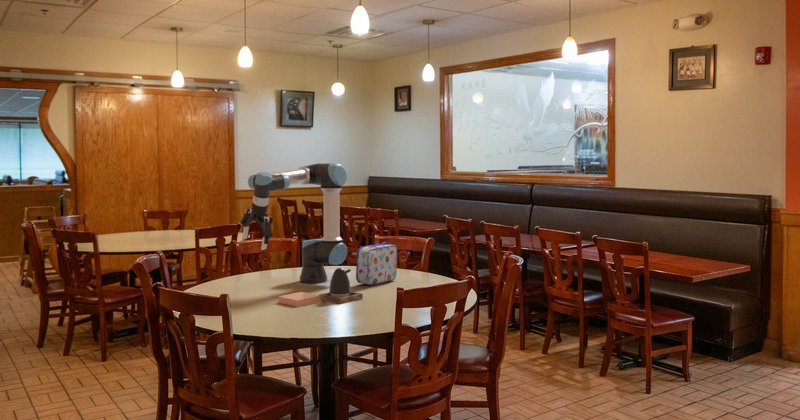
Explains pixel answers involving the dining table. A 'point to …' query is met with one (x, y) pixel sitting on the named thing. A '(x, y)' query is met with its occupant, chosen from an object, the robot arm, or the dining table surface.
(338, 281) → the pump dispenser
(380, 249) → the lunch box
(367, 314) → the dining table surface
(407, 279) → the dining table surface
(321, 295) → the brown wooden trivet
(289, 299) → the stand
